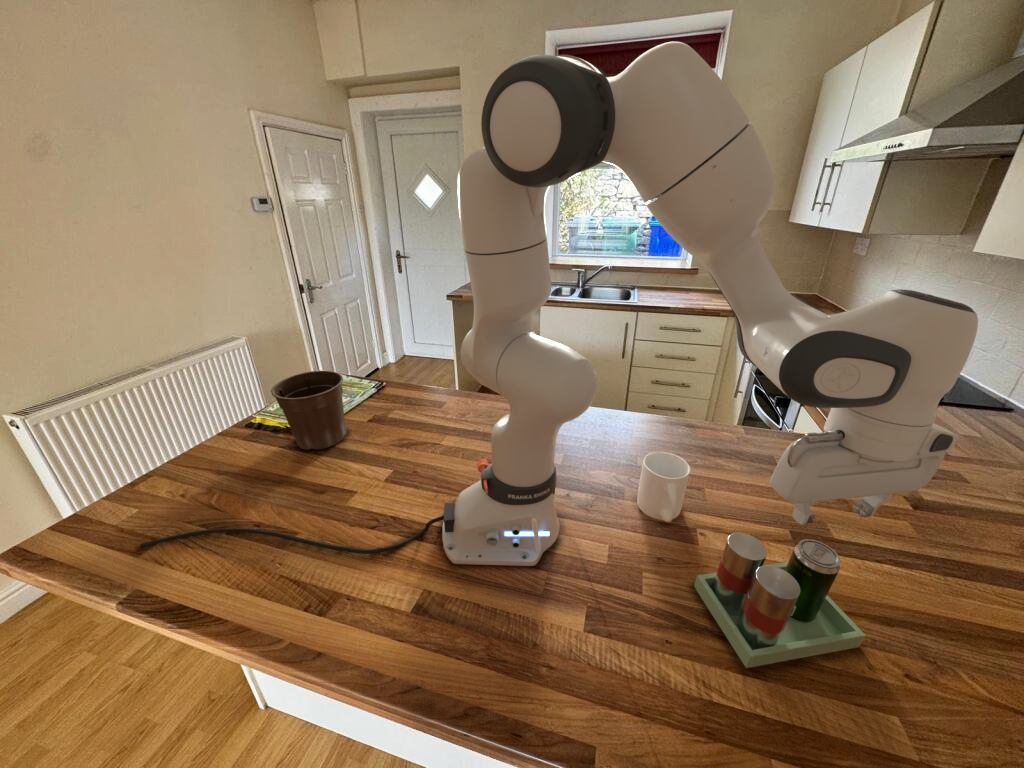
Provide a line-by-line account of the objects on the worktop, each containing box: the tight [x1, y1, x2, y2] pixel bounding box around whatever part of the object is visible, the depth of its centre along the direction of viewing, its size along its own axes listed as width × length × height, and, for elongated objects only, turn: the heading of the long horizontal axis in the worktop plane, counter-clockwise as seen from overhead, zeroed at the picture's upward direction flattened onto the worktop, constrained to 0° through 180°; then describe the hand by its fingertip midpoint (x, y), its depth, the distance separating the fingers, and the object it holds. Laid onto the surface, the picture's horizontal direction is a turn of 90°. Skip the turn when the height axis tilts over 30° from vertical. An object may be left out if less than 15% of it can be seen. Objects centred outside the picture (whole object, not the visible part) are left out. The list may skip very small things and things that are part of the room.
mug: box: [636, 451, 691, 523], centre depth 78 cm, size 9×12×11 cm
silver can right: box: [736, 564, 800, 650], centre depth 55 cm, size 5×5×12 cm
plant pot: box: [270, 370, 348, 451], centre depth 102 cm, size 16×16×16 cm
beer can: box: [785, 538, 842, 623], centre depth 59 cm, size 5×5×12 cm
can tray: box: [693, 561, 867, 669], centre depth 60 cm, size 18×13×3 cm
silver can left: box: [712, 532, 768, 616], centre depth 60 cm, size 5×5×12 cm
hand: (831, 517), depth 54 cm, fingers open, 8 cm apart
